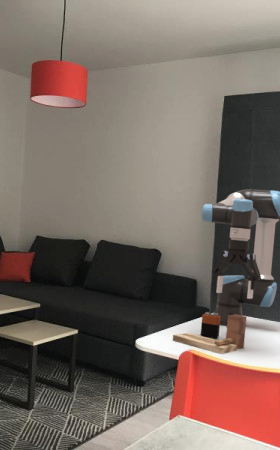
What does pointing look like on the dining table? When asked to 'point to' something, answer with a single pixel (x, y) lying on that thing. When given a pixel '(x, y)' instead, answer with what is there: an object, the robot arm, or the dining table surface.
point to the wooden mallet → (235, 331)
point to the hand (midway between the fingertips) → (234, 295)
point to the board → (204, 343)
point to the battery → (210, 325)
